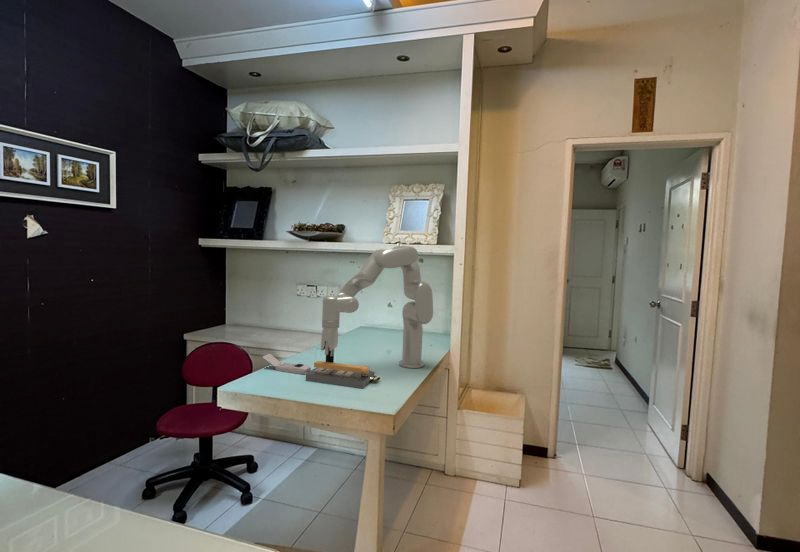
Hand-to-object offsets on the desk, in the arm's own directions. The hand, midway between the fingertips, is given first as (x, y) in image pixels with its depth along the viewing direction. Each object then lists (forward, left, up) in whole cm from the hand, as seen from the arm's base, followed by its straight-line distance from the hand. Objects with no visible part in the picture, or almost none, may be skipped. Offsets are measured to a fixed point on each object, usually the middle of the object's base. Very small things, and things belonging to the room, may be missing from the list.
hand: (329, 364), depth 178 cm
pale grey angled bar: (0, -20, -5) cm, 21 cm away
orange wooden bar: (+3, +7, -1) cm, 8 cm away
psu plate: (+3, +7, -5) cm, 9 cm away
